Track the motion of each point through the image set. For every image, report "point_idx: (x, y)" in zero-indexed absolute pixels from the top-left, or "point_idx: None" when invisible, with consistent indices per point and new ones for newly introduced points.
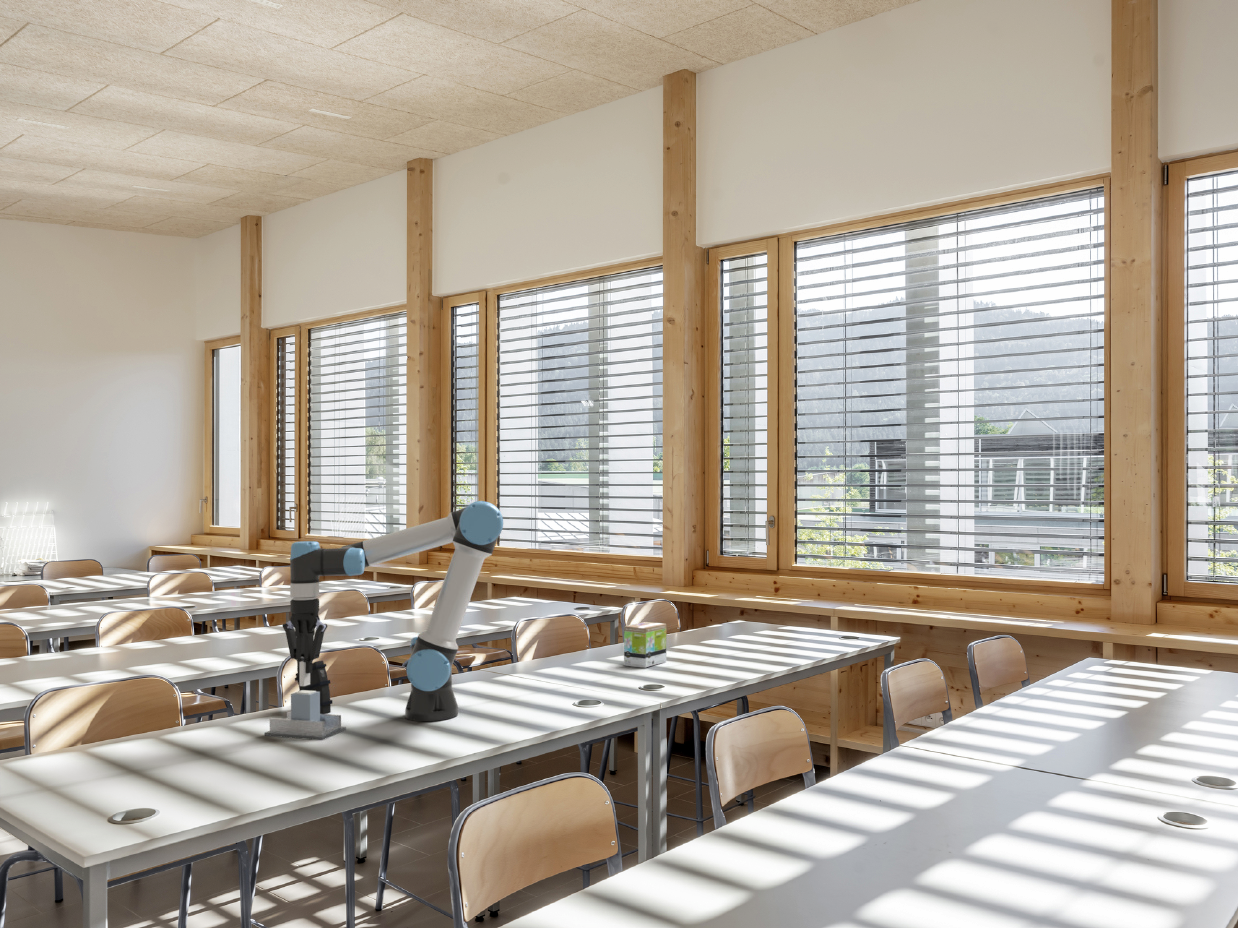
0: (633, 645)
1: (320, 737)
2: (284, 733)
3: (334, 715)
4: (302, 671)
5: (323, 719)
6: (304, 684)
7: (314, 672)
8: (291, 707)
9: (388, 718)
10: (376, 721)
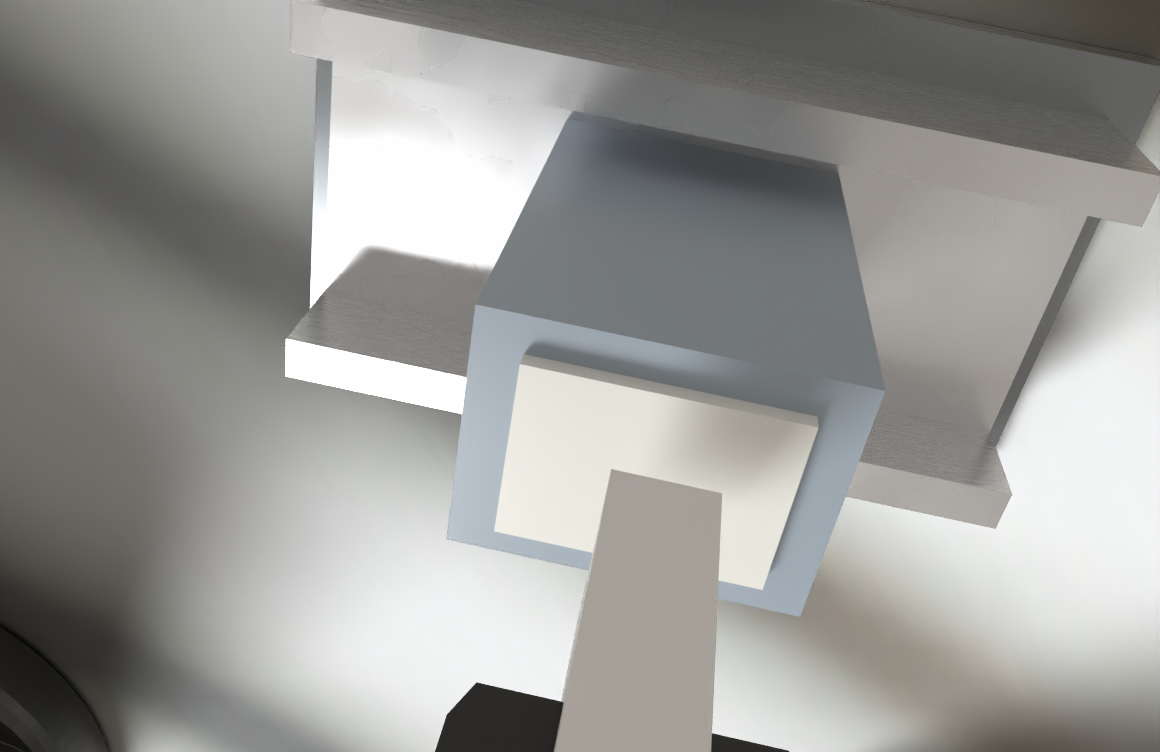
0: None
1: None
2: (878, 42)
3: (346, 353)
4: (619, 713)
5: None
6: (607, 499)
7: None
8: (852, 279)
9: (183, 664)
10: (221, 588)
